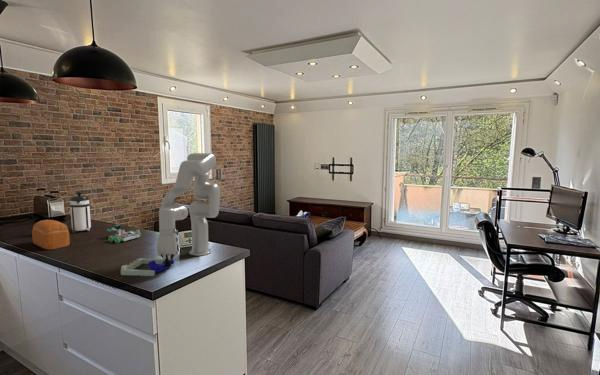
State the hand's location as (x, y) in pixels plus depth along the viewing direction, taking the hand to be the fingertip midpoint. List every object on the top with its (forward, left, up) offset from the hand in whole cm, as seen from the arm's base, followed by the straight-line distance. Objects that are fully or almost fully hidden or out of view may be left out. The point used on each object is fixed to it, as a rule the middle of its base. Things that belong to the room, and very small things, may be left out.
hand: (168, 266), depth 164 cm
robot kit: (-56, -62, -3) cm, 84 cm away
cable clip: (0, -3, -1) cm, 4 cm away
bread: (-38, -97, -2) cm, 105 cm away
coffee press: (-74, -106, -2) cm, 129 cm away
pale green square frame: (-1, -12, -2) cm, 12 cm away
